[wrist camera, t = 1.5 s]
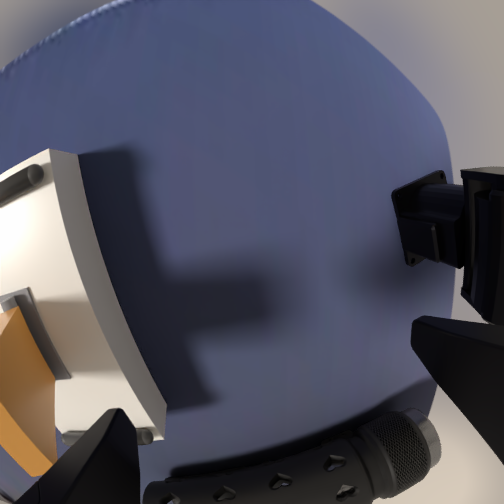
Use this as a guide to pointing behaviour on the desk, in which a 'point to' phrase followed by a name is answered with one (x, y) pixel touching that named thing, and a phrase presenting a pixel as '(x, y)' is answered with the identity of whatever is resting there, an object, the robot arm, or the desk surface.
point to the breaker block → (71, 299)
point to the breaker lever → (25, 395)
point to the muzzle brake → (322, 469)
